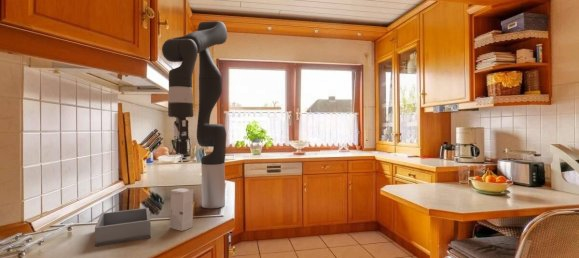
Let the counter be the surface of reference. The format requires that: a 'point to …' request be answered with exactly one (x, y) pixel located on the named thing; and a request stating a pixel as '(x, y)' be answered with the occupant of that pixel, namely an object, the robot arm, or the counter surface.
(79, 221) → the counter surface
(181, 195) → the skincare box
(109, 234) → the bin
